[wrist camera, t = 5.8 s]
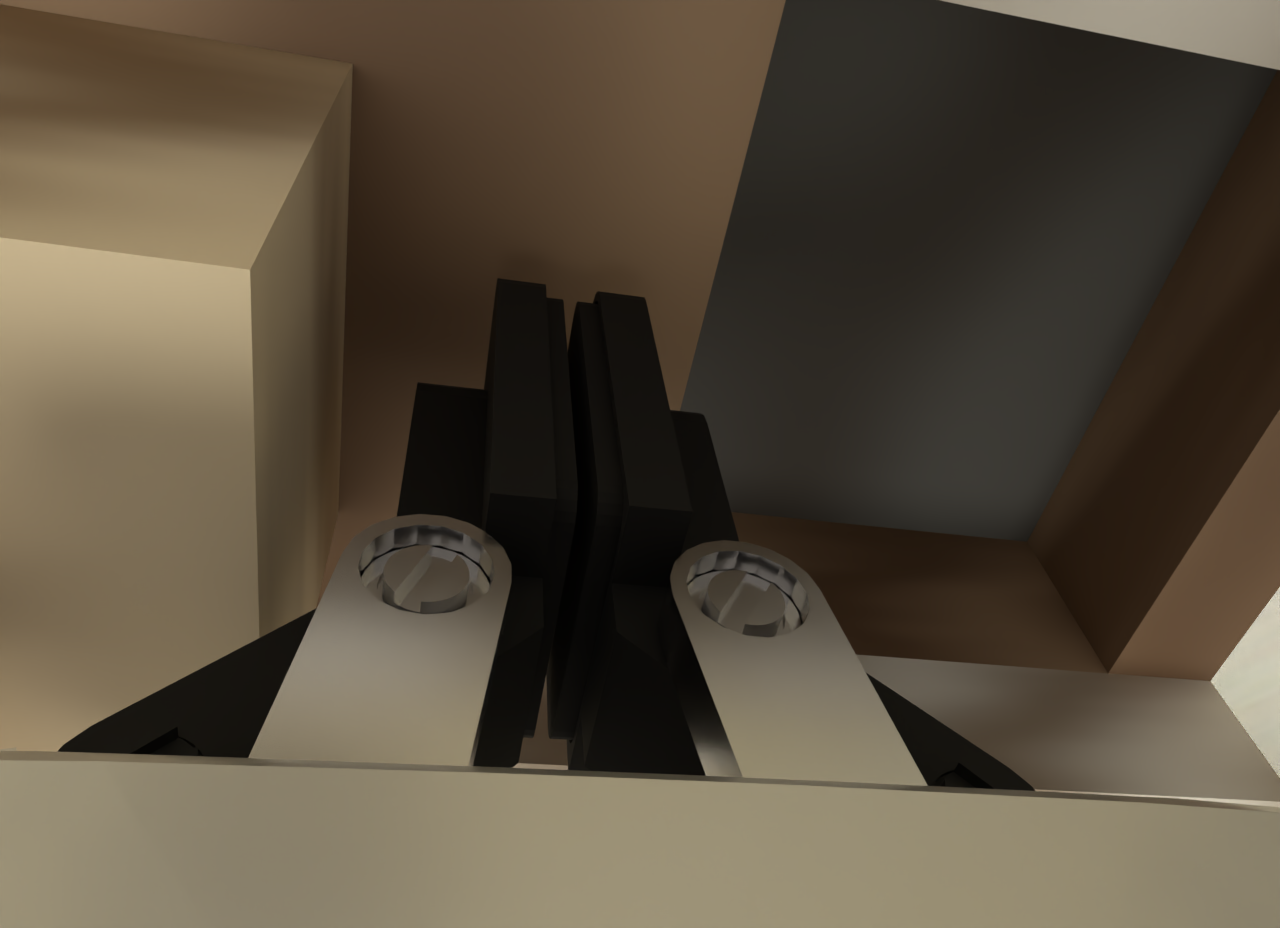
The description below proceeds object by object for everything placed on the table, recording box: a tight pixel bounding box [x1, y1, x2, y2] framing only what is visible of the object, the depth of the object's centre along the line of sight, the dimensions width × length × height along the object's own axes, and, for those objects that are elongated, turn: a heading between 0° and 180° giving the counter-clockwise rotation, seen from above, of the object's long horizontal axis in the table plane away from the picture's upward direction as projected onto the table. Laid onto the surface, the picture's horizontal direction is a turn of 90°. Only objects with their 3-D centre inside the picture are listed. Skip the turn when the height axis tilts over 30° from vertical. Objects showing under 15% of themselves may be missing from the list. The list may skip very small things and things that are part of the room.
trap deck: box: [0, 0, 1280, 807], centre depth 13 cm, size 32×13×6 cm, turn 79°
